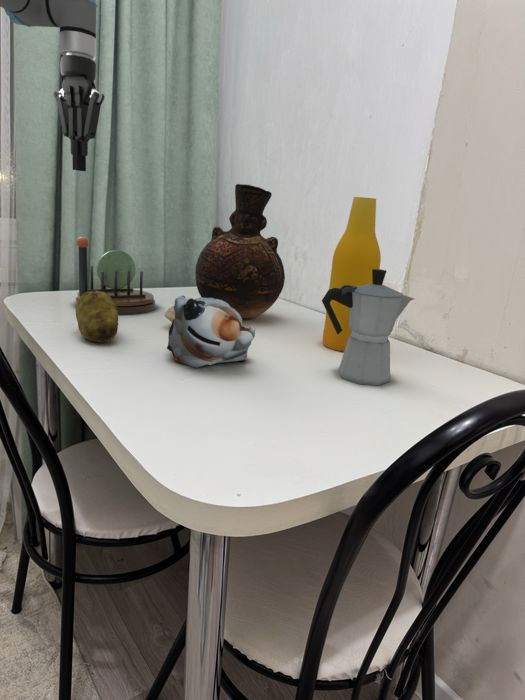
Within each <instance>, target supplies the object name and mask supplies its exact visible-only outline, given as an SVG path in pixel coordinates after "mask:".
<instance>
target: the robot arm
mask: <svg viewBox="0 0 525 700" xmlns="http://www.w3.org/2000/svg"><path fill="white" fill-rule="evenodd" d="M0 8H2V9H4V12H5V14H6V15H7V16H8V18H9V20H10V21H11V22H12V23H14V24H15V25H19V26H24V27H25V26H26V27H29V28H32V27H39V28H40V27H41V28H42V27H43V28H59V52H60V54H61V56H60V65H59V66H60V74H61V76H62V78H63V80H62V82H61V89H60V90H58V91H57V90H55V91H54V92H53V97H54V99H55V102H56V104H57V110H58V115H59V120H60V126H61V132H62V136H64V137H66V138H68V139H69V140H70V155H71V156H72V157H71V159H72V171H78V172H87V156H88V155H89V151H88V150H89V141H90V140H95V138H96V135H97V129H98V124H99V118H100V113H101V107H102V104H103V102H104V100H105V94H104V93H101V92H99V91H98V90H97V87H96V84H95V81H96V80H97V63H96V62H95V60H97V8H98V4H97V0H0Z"/></svg>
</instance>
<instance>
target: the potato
mask: <svg viewBox="0 0 525 700" xmlns="http://www.w3.org/2000/svg"><path fill="white" fill-rule="evenodd" d="M75 318H76V322H77V325H78V331H79V333H81V335H82V336H83V337H84V338H85V339H86V340H89V341H91V342H94V343H95V342H96V343H101V344H104V343H107V342H109V341H111V340H113V339H114V338H115V337H116V336H117V334H118V329H119V315H118V308H117V306H116V304H115V303H114V302H113V301H112V298H111V297H110V295H108V294H107V293H104V292H102V291H88V292H86V293H84V294H83V295H82V296H81V297H80V298H79V300H78V302H77V305H76V304H75Z"/></svg>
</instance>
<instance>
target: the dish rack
mask: <svg viewBox="0 0 525 700" xmlns="http://www.w3.org/2000/svg"><path fill="white" fill-rule="evenodd" d="M89 245H90V241H89V239H88V238H87V237H86V236H79V237H78V238H77V239H76V246H77V247H78V292H77V297H78V299H79V298H80V297H81V296H82V295H83V294H84V293H86V292H88V291H102V292H104V293H107V294H108V295H110V297H111V298H112V301H113V302H114V303H115V304H116V306H138V305H145V304H149V303H151V302H153V300H155V298H154V295H153V293H150V292H148V291H145V290H143V287H144V286H143V285H144V284H143V283H144V280H143V279H144V277H143V276H144V272H143V271H142V270H140V272H139V289H135V288H133V287H131V283H132V282H133V280H134V278H135V276H136V263H135V261H134V260H133V258H132V257H131V255H129V253H127V252H126V251H122V250H119V249H113V250H109V251H107V252H105V253H104V254H102V255H101V257H100V258H99V259H98V261H97V265H96V274H97V277H98V280H99V281H100V284H101V285H100V287H95V288H94V266H93V265H91V266H90V267H89V269H90V276H89V277H90V288H88V284H89V283H88V247H89Z"/></svg>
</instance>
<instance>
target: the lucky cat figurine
mask: <svg viewBox="0 0 525 700" xmlns="http://www.w3.org/2000/svg"><path fill="white" fill-rule="evenodd" d="M173 306H174V310H175V319H174V320H173V321H172V322H171V324H170V327H169V329H168V336H167V337H168V342H167V346H166V349H167V350H168V351H169V352H170V353H171V354H172V357H173V360H174V362H177V363H181V364H183V365H186V366H188V367H193V368H196V369H199V368H202V367H204V366H207V365H209V366H211V365H214V364H221V363H229V362H240V361H243V362H244V361H246V359H247V357H248V351H249V348H250V346H251V345H252V341H253V340H254V339H255V337H256V329H254V328H252V326H251V325H244V322H243V318H241V316H240V314H239V313H238V312H237V311H236V310H235V309H233V308H231V307H230V306H229V304H228V303H226V302H224V301H223V300H219V299H214V298H201V297H197V298H189V299H187V298H186V296H185V295H183V294H181V295H179V296H178V297H176V298H175V299H174V304H173Z"/></svg>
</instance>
